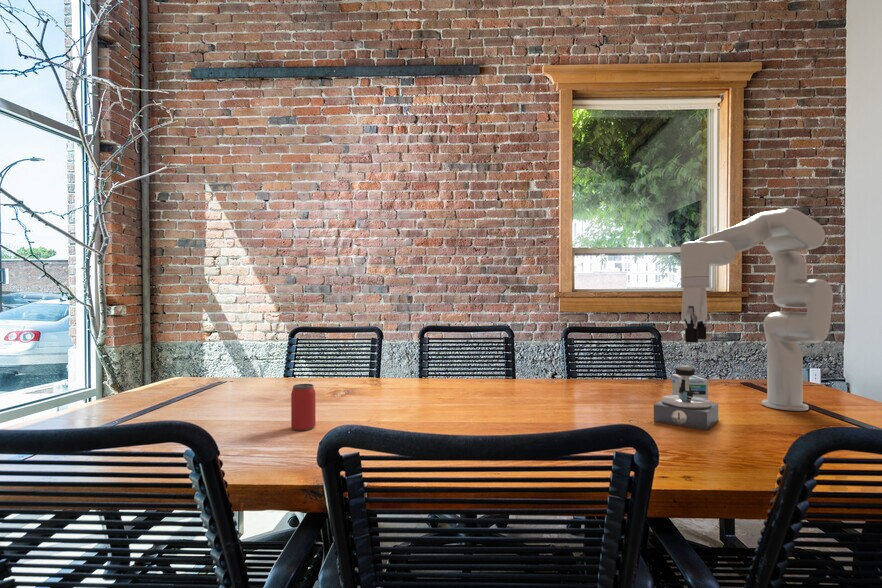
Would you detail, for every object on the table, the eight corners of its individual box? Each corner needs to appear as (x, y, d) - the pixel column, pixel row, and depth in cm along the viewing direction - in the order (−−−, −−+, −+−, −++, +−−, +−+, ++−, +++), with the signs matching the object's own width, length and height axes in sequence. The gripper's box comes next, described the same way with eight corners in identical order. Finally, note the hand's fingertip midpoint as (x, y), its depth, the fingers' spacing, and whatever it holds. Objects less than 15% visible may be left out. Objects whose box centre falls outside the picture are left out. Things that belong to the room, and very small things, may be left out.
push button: (700, 403, 135) (700, 368, 135) (681, 402, 136) (680, 368, 136) (690, 397, 142) (690, 364, 142) (672, 397, 142) (672, 364, 142)
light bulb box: (708, 413, 148) (708, 379, 148) (687, 413, 148) (687, 379, 148) (691, 405, 159) (691, 373, 159) (671, 405, 159) (671, 373, 159)
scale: (667, 412, 149) (668, 396, 149) (718, 420, 140) (718, 403, 140) (653, 421, 138) (653, 404, 138) (706, 430, 129) (706, 412, 129)
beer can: (320, 427, 133) (320, 385, 133) (299, 433, 128) (298, 388, 128) (307, 423, 137) (307, 382, 137) (286, 428, 132) (286, 385, 132)
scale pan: (669, 397, 149) (669, 393, 149) (715, 403, 140) (715, 399, 140) (656, 404, 139) (656, 400, 139) (705, 411, 130) (705, 407, 130)
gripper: (689, 283, 149) (690, 337, 149) (672, 283, 136) (673, 342, 136) (716, 282, 144) (717, 338, 144) (701, 283, 131) (702, 344, 131)
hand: (696, 340), depth 140 cm, fingers open, 9 cm apart
